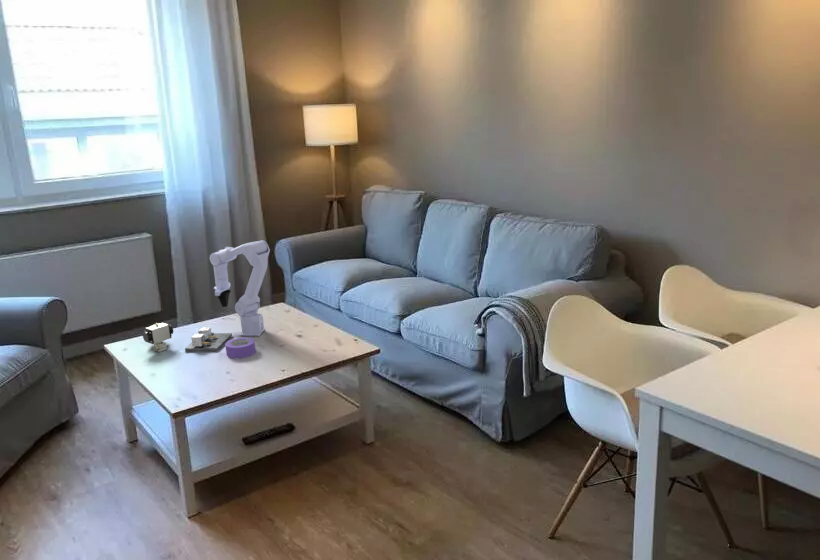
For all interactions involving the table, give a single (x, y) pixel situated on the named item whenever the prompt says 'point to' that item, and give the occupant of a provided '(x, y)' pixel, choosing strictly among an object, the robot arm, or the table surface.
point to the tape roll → (240, 347)
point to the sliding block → (206, 332)
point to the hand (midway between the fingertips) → (224, 306)
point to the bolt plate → (207, 342)
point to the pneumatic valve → (158, 335)
